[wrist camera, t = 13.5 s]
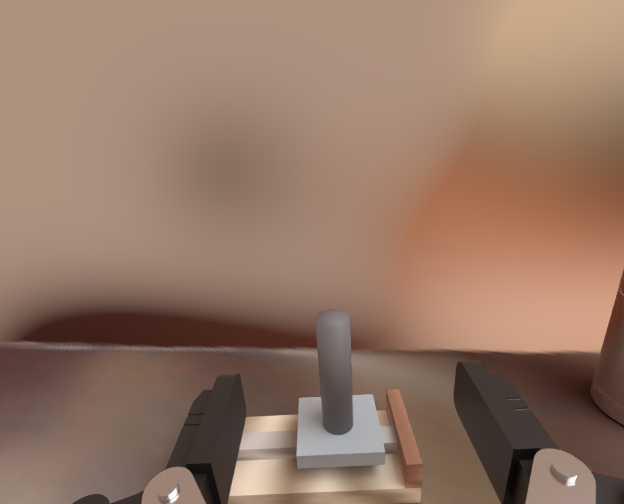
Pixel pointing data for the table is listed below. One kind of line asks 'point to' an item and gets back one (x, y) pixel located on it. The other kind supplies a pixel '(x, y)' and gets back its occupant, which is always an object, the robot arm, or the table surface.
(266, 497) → the rail bed
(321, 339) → the carriage
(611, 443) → the table surface
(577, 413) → the table surface
